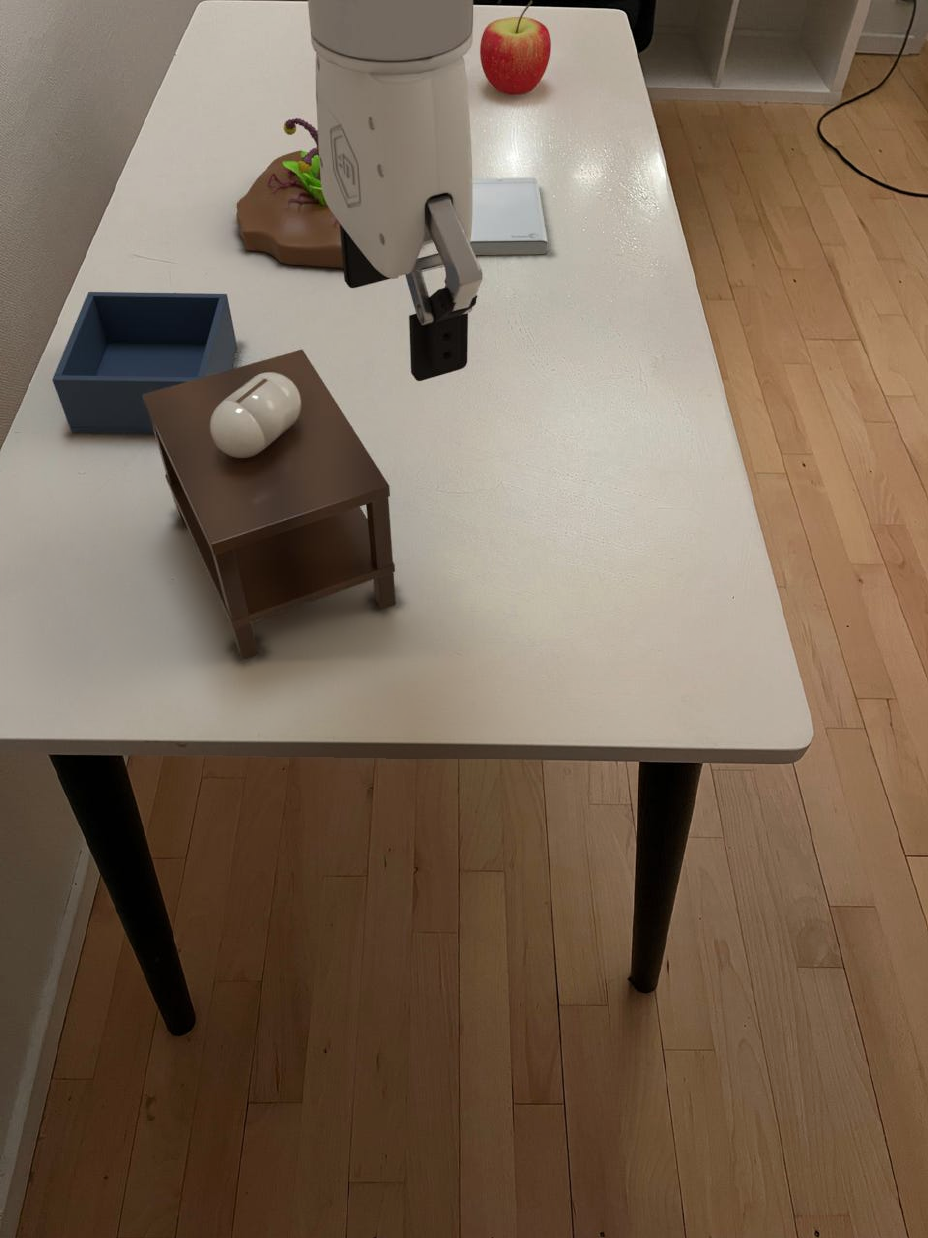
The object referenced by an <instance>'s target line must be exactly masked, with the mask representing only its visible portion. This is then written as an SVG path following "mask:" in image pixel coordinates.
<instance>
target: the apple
mask: <svg viewBox="0 0 928 1238" xmlns="http://www.w3.org/2000/svg"><path fill="white" fill-rule="evenodd" d="M533 3H534V2H533V0H530V1H529V2H528V3H527V5H526V6H525V8H524V9H523V10H522V12H521V14H520V16H515V17H514V16H513V17H504V18H499V19H495V20H493V21H491V22H490V23H488V25H487V26H486V27H485V29H484V30H483V32H482V35H481V40H480V46H479V56H480V57H479V58H480V63H481V67H482V70H483V73H484V76H485V77H486V79H487V81H488V83H489V84H490V86H492V87H493V88H494V89H495V90H497V91H498V92H500V93H502V94H505V95H509V96H520V95H524V94H527V93H530V92H531V91H533V90H534V89H535V88H537V86H538V84H540V82H541V80H542V79H543V77H544V75H545V73H546V71H547V68H548V66H549V61H550V58H551V51H552V41H551V35H550V32H549V28H548V27H547V25H545V24H544V23H542V22H540V21H538V20H536V19H534V18H531V17H526V16H524V14H525V13H526V11H527V10H528V9H529V7H530V6H531V5H532V4H533Z"/></svg>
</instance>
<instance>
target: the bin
mask: <svg viewBox="0 0 928 1238" xmlns="http://www.w3.org/2000/svg"><path fill="white" fill-rule="evenodd" d="M237 348H238V344H237V338H236V333H235V329H234V323H233V317H232V313H231V308H230V303H229V297H228V294H227V293H203V292H202V293H201V292H200V293H199V292H198V293H195V292H193V293H191V292H190V293H189V292H188V293H187V292H133V291H132V292H131V291H129V292H128V291H126V292H123V291H120V292H119V291H88V292H87V295H86V297H85V300H84V301H83V305H82V307H81V309H80V312H79V314H78V316H77V319H76V321H75V323H74V326H73V328H72V331H71V333H70V335H69V338H68V341H67V343H66V345H65V348H64V350H63V352H62V355H61V357H60V360H59V362H58V364H57V367H56V369H55V372H54V373H53V377H52V379H51V380H52V383H53V385H54V389H55V390H56V394H57V396H58V400H59V402H60V404H61V408H62V410H63V413H64V415H65V418H66V421H67V424H68V426H69V429H70V432H71V433H73V434H74V433H75V434H76V433H77V434H78V433H79V434H131V435H132V434H135V435H137V434H140V435H155V434H154V430H153V427H152V423H151V420H150V416H149V414H148V411H147V409H146V407H145V405H144V401H143V398H142V395H143V394H146V393H150V392H153V391H157V390H160V389H164V388H167V387H171V386H174V385H178V384H181V383H185V382H189V381H192V380H196V379H199V378H203V377H206V376H210V375H213V374H217V373H220V372H224V371H227V370H231V369H233V365H234V361H235V356H236V353H237Z"/></svg>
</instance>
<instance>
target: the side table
mask: <svg viewBox="0 0 928 1238" xmlns="http://www.w3.org/2000/svg"><path fill="white" fill-rule="evenodd" d="M266 372H274V373H279V374H282V375H284V376H286V377H287V378H289V379H290V380H291V381H292V382H293V383H294V384H295V385H296V387H297V389H298V390H299V393H300V396H301V411H300V415H299V417H298V418H297V420H296V422H295V423H294V424H293V425H292V426H291V427H290V428H289V429H287V430H286V431H285V432H284V433H283V434H282V435H280V436H279V437H278V438H277V439H276V440H275V441H273V442H272V443H271V444H270V445H269V446H267V447H266V448H265V449H264V450H263V451H262V452H260V453H259V454H257V455H255V456H252V457H250V458H234V457H231V456H229V455H227V454H225V453H223V452H222V451H221V450H220V449H219V448H218V447H217V446H216V444H215V443H214V441H213V439H212V437H211V433H210V419H211V416H212V413H213V411H214V410H215V408H216V407H217V406H218V405H219V404H220V403H221V402H222V401H224V400H225V399H226V398H227V397H229V396H230V395H231V394H232V393H234V392H235V391H236V390H238V389H239V388H240V387H241V386H243V385H244V384H245V383H246V382H248V381H249V380H250V379H251V378H253V377H255V376H256V375H258V374H261V373H266ZM142 398H143V401H144V405H145V407H146V409H147V411H148V414H149V416H150V420H151V423H152V427H153V430H154V434H153V435H154V438H155V440H156V444H157V447H158V451H159V455H160V457H161V461H162V464H163V468H164V472H165V475H164V476H165V480H166V483H167V485H168V487H169V490H170V493H171V496H172V500H173V503H174V506H175V510H176V514H177V517H178V518H179V519H178V520H179V521H180V523H181V525H182V526H184V525H185V526H186V527H187V530H188V532H189V534H190V536H191V539H192V541H193V543H194V545H195V548H196V550H197V552H198V555H199V557H200V558H201V559H200V560H201V561H202V564H203V565H204V567H205V570H206V572H207V574H208V576H209V579H210V582H211V584H212V586H213V588H214V589H215V592H216V594H217V596H218V599H219V602H220V603H221V605H222V608H223V611H224V613H225V614H226V617H227V619H228V621H229V623H230V626H231V631H232V634H233V637H234V641H235V645H236V649H237V651H238V653H239V656H240V657H241V659H242V660H247V659H248V658H251V657H254V656H257V655H259V651H258V646H257V642H256V636H255V633H254V629H253V625H252V623H255V622H258V621H260V620H264V619H267V618H268V617H272V616H274V615H277V614H280V613H283V612H285V611H288V610H292V609H294V608H297V607H300V606H303V605H305V604H308V603H312V602H314V601H317V600H319V599H322V598H326V597H328V596H330V595H333V594H336V593H339V592H342V591H344V590H347V589H350V588H353V587H356V586H359V585H362V584H364V583H367V582H370V581H372V583H373V593H374V600H375V601H376V603H377V605H378V606H379V608H380V609H381V610H383V609H386V608H389V607H392V606H394V605H396V604H397V602H396V601H397V600H396V588H395V586H396V585H395V572H396V564H395V562H394V557H393V546H392V529H391V515H390V502H389V501H390V499H389V497H391V491H390V489H391V488H390V484H389V483H388V482H387V480H386V479H385V476H384V474H382V472H381V470H380V469H379V468H378V465H377V464H376V462H375V461H374V459H373V458H372V456H371V455H370V453H369V452H368V450H367V448H366V447H365V446H364V443H363V442H362V440H361V439H360V437H359V436H358V434H357V433H356V431H355V429H354V428H353V427H352V424H351V423H350V421H349V420H348V418H347V417H346V416H345V413H344V412H343V411H342V409H341V408H340V406H339V405H338V403H337V401H336V400H335V398H334V396H333V395H332V394H331V392H330V391H329V389H328V387H327V386H326V384H325V382H324V381H323V378H321V376H320V375H319V373H318V372H317V370H316V368H315V366H314V365H313V364H312V362H311V361H310V359H309V357H308V355H307V354H306V353H305V351H304V349H298V350H295V351H292V352H288V353H284V354H281V355H277V356H274V357H270V358H267V359H263V360H260V361H259V360H258V361H255V362H253V363H249V364H245V365H242V366H238V367H235V368H232V369H231V370H227V371H224V372H220V373H217V374H213V375H210V376H206V377H203V378H199V379H196V380H192V381H189V382H185V383H181V384H178V385H174V386H171V387H167V388H164V389H160V390H157V391H153V392H150V393H146V394H143V395H142ZM363 506H366V507H365V508H366V515H365V512H364V510H363V509H362V508H361V507H363Z"/></svg>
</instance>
